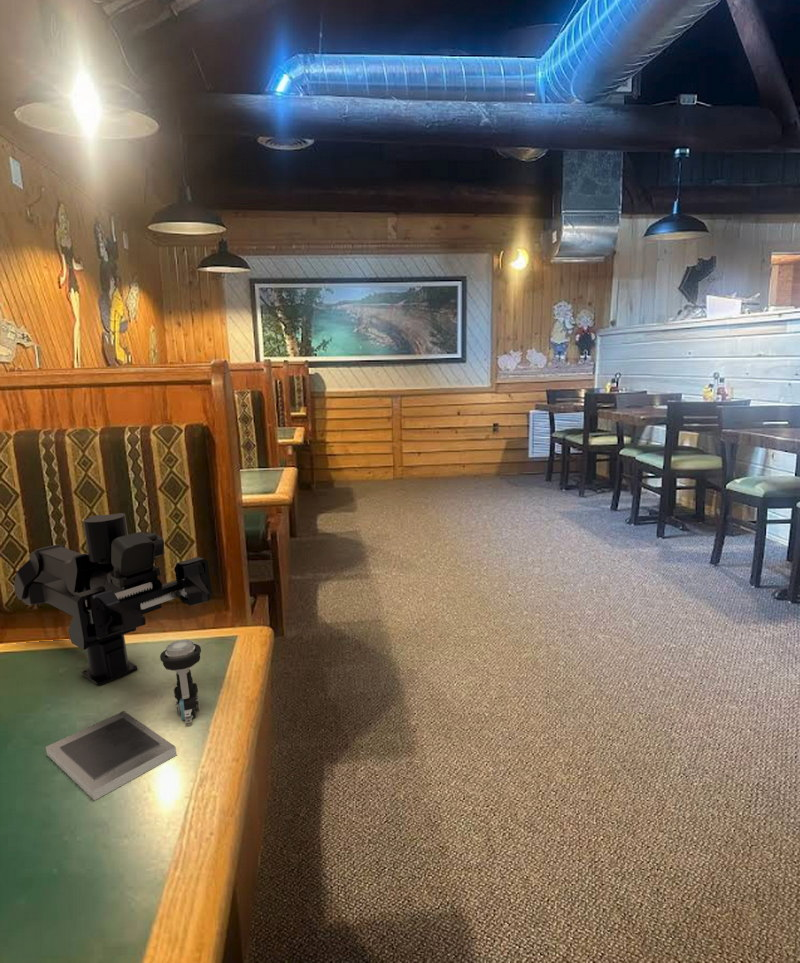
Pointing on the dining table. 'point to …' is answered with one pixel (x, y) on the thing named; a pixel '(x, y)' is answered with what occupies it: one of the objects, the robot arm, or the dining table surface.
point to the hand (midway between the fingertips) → (177, 608)
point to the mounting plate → (110, 753)
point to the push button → (183, 675)
